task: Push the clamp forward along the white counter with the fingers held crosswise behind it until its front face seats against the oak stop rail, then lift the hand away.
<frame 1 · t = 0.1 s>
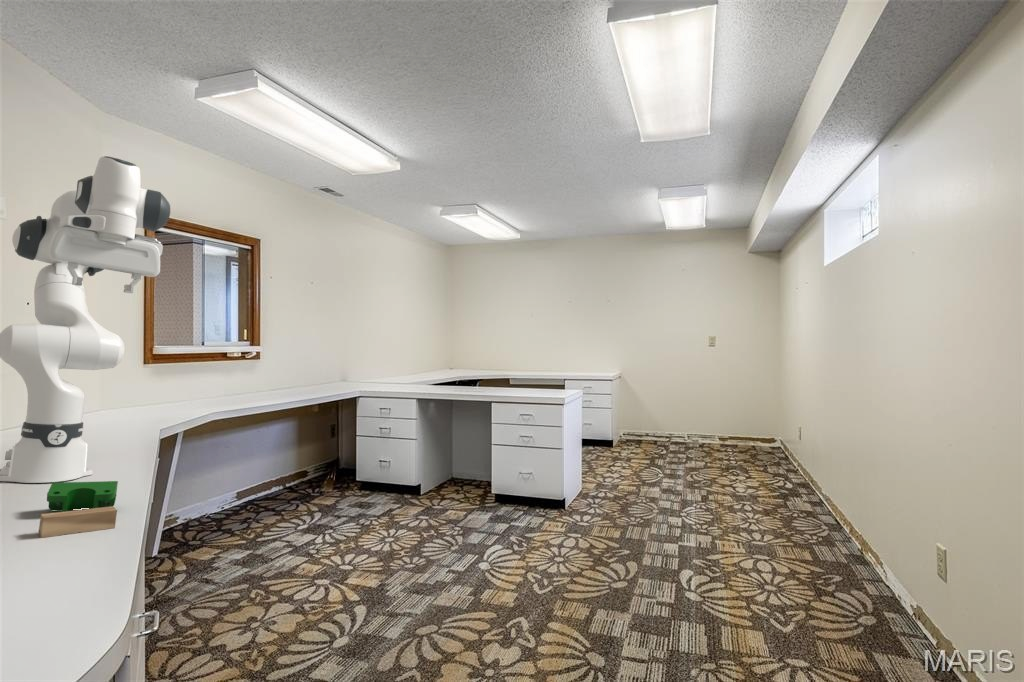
hand: (103, 289, 120), 48 cm above the counter, tool pointing down, fingers open, 8 cm apart
clamp: (80, 513, 113), on the counter
stop rail: (77, 530, 102), on the counter
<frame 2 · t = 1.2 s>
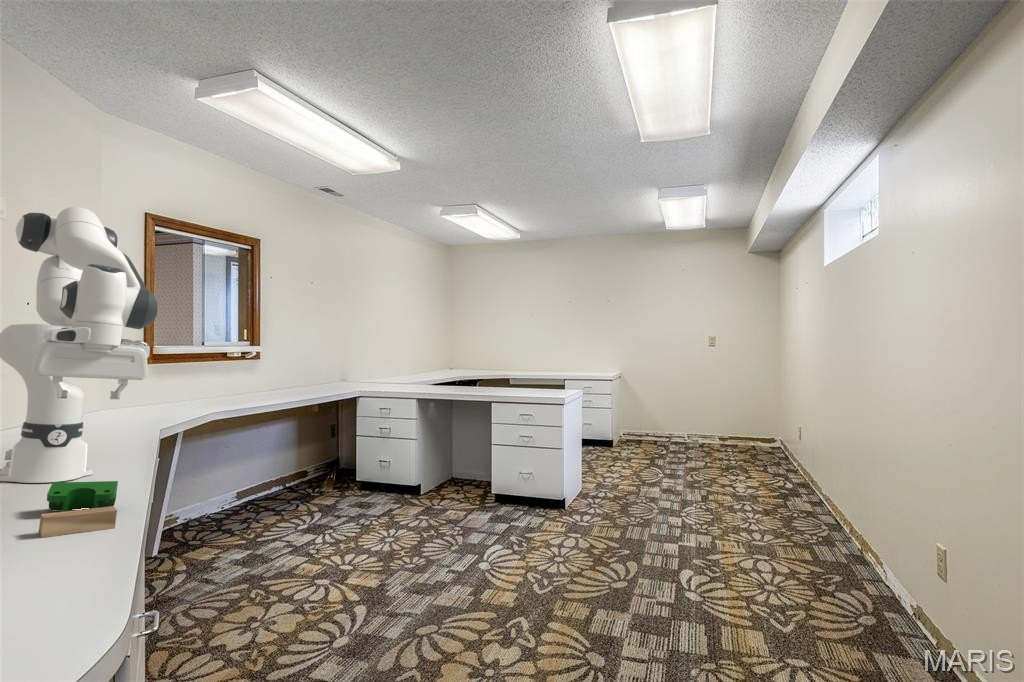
hand: (88, 398, 118), 23 cm above the counter, tool pointing down, fingers open, 8 cm apart
nothing on the counter moved.
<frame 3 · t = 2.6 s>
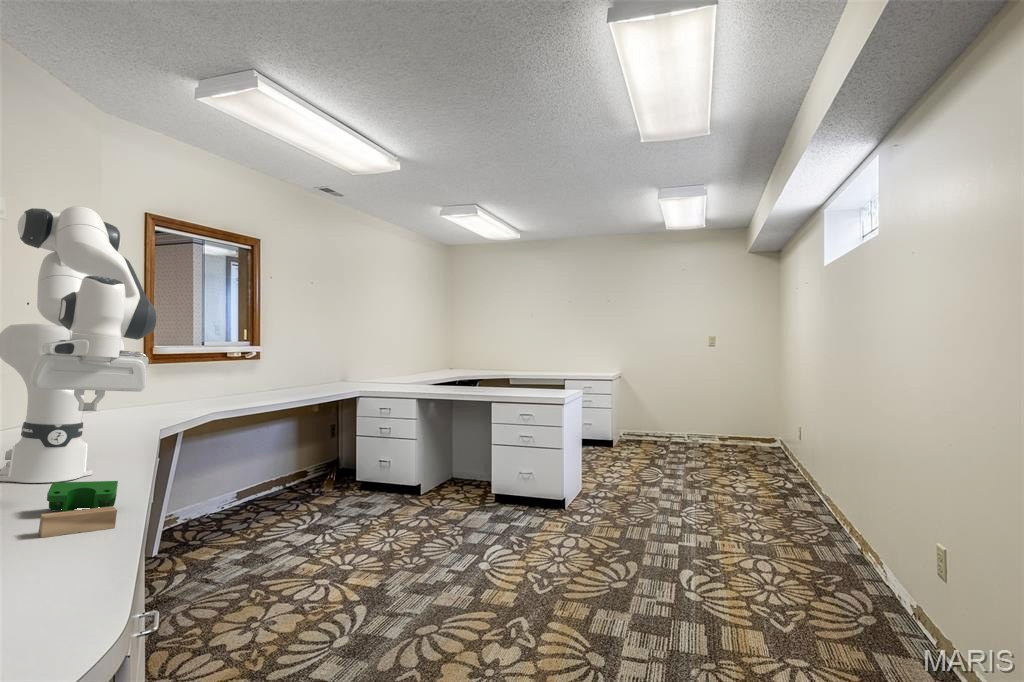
hand: (87, 410, 118), 21 cm above the counter, tool pointing down, fingers closed
nothing on the counter moved.
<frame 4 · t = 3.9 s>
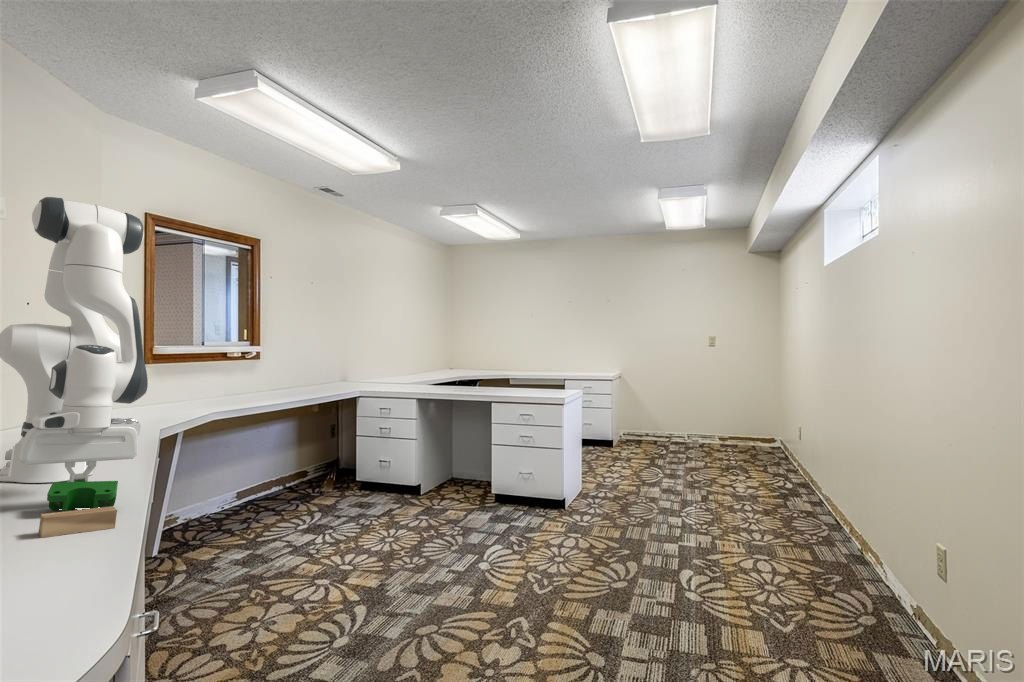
hand: (78, 482, 117), 5 cm above the counter, tool pointing down, fingers closed
nothing on the counter moved.
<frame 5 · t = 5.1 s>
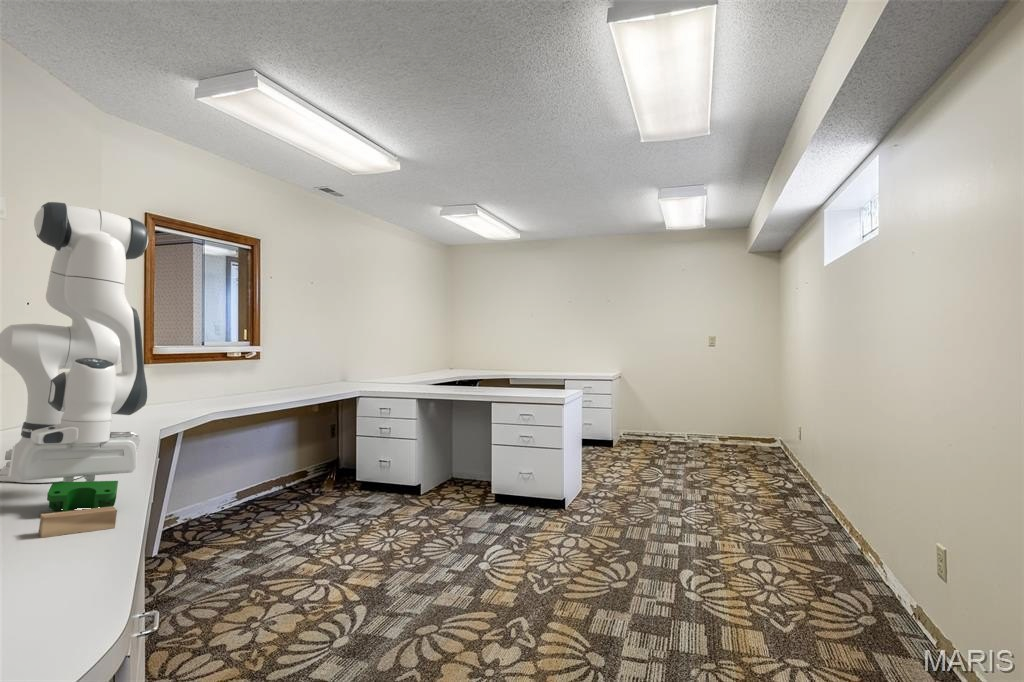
hand: (76, 496, 116), 2 cm above the counter, tool pointing down, fingers closed
clamp: (80, 512, 113), on the counter, touching gripper
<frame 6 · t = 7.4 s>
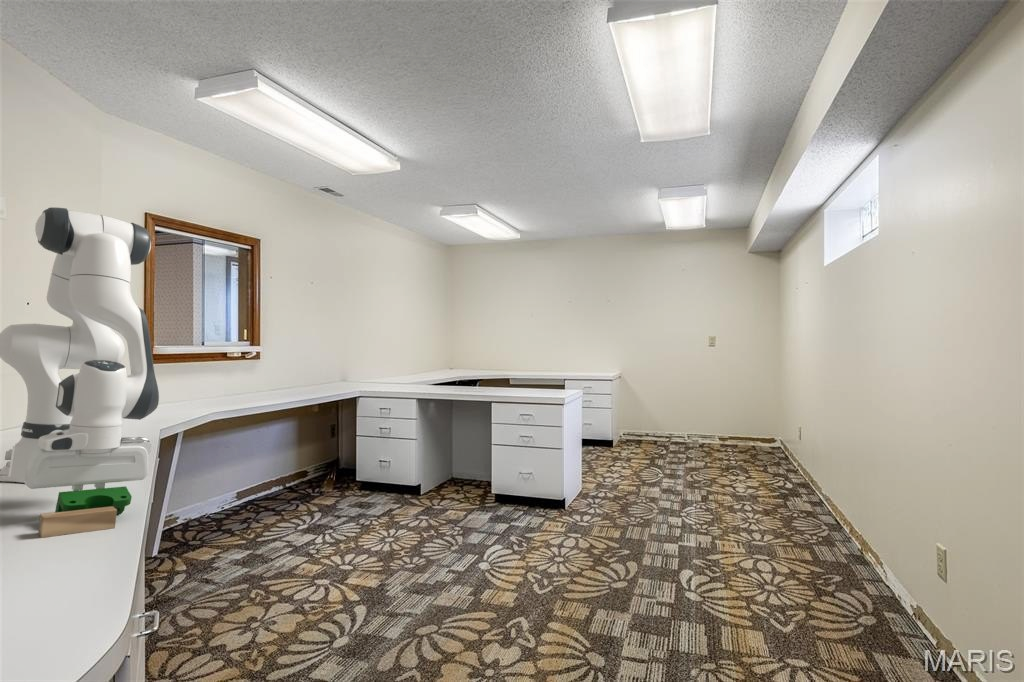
hand: (86, 505, 111), 2 cm above the counter, tool pointing down, fingers closed
clamp: (92, 521, 108), on the counter, touching gripper
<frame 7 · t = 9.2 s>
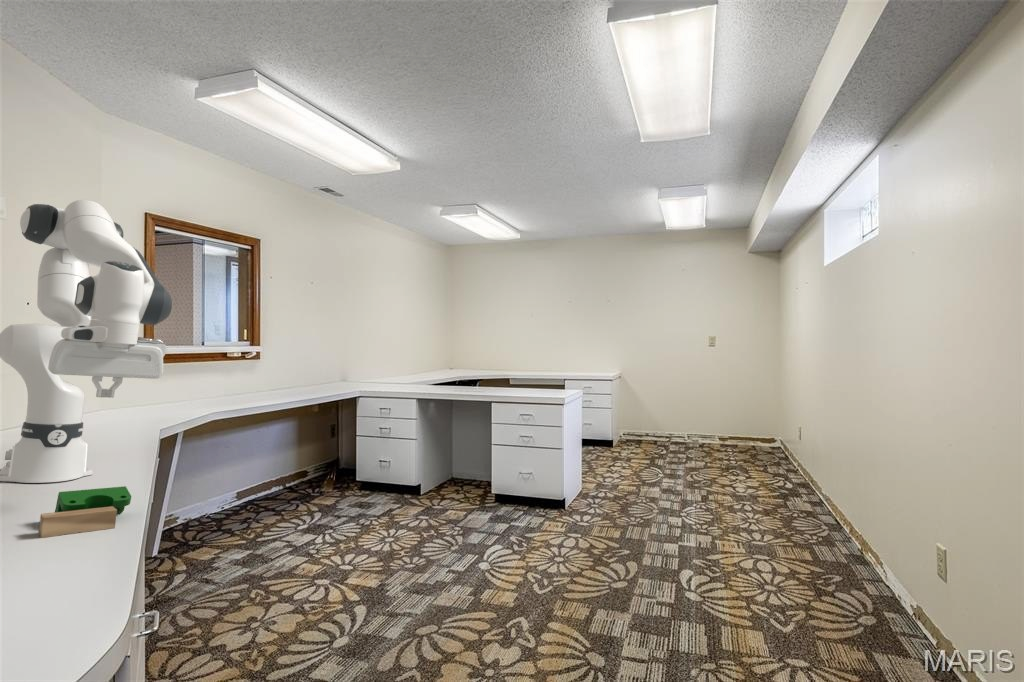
hand: (104, 397, 118), 24 cm above the counter, tool pointing down, fingers closed
clamp: (92, 521, 108), on the counter
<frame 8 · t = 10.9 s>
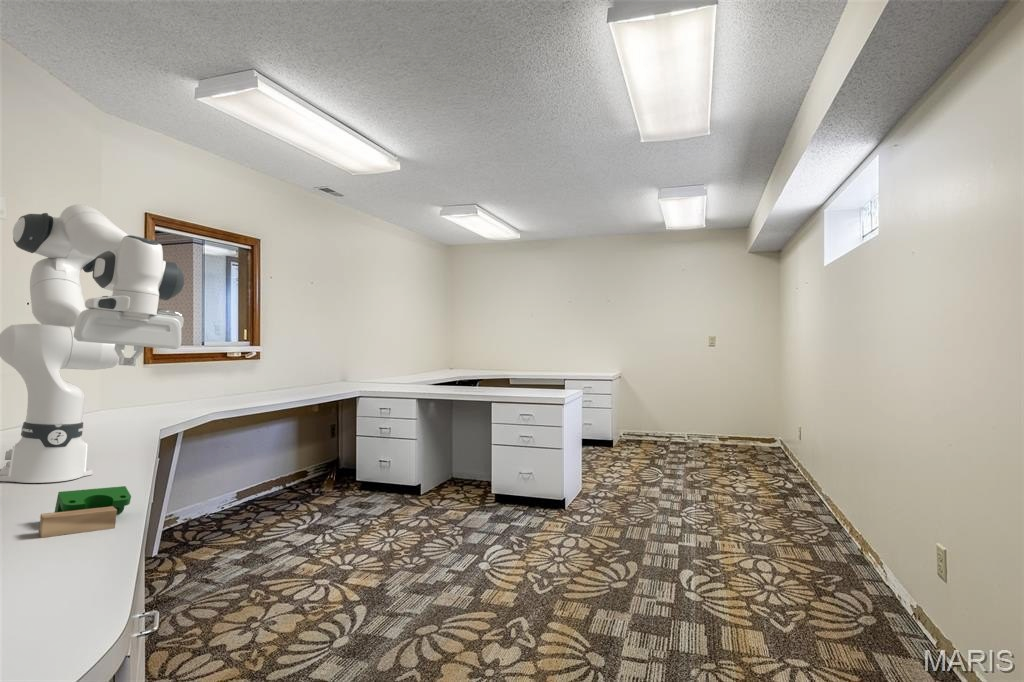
hand: (126, 365, 122), 31 cm above the counter, tool pointing down, fingers closed
nothing on the counter moved.
at the end: clamp inside the target area (1.5 cm from its centre), on the counter; clamp moved 7.3 cm from its start; the gripper is holding nothing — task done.
